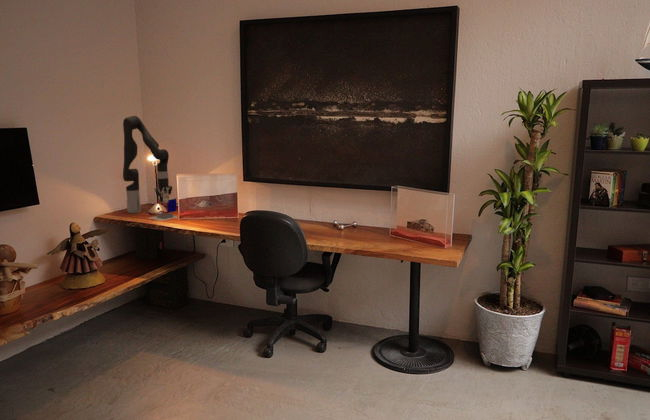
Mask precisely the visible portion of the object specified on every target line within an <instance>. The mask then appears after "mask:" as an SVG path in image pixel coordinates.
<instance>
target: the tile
mask: <svg viewBox="0 0 650 420" xmlns="http://www.w3.org/2000/svg"><path fill="white" fill-rule="evenodd" d="M156 216H157V217H158V218H163V219H166V218H171V217H173V216H174V214H173V213H165V212H162V213H159V214H156Z"/></svg>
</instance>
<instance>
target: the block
mask: <svg viewBox="0 0 650 420" xmlns="http://www.w3.org/2000/svg"><path fill="white" fill-rule="evenodd" d="M162 197H163V202H161V201H160V203H168V193H165V192H163V196H162Z"/></svg>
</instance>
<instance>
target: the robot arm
mask: <svg viewBox="0 0 650 420" xmlns="http://www.w3.org/2000/svg"><path fill="white" fill-rule="evenodd" d="M122 129H123V141H124V142H123V166H122V167H123V169H122V170H123V171H122V178H123V181H124V182H132V183H131V184H129V185H127V186H125V187H126V188H125V190H126V191H125V192H126V208H127V213H128V214H138V213H141V212H142V210H141V209H142V208H141V197H140V196H141V195H140V182H139V181H140V179H139V178H140V174H139V170H138V169H137V168H130V166H131V165H132V163H133V162H134V161H135V159H136V157H137V156H138V144H137V142H136V140H134V139H135V138H133V130H136V129H137V130H138V131H139V132H140V134H141V136H142V142H143V143H144V145H145V146H146V147H147V148H148V149H149V150H150V153H151V154H152V155H153V157H154V158H155V159H156V160H158V161H159V163H157V164H156V171H157V172H156V176H157V177H156V178H157V187H155V188H154V192H155V194H156V196H157V197H158V198H159V199H160V201H161V202H163V197H162V196H163V192H165V193H168V200H169V198H170V197H169V195H172V190H173V186H171V185H169V171H168V163H169V151H168V150H167V149H165V148H164V149H160V148H159V146H160V144H159V143H158V142H157V140H155V138H154V137H153V136H152V135H151V133H150V132H149V130H148V129H147V127H146V126H145V125H144V123H143V121H142V120H141V118H140V117H138V116H137V115H132V116H128V117H125V118H124V119H123V123H122Z"/></svg>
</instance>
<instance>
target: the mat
mask: <svg viewBox="0 0 650 420" xmlns="http://www.w3.org/2000/svg"><path fill="white" fill-rule="evenodd" d="M176 218H178V216H177V215H173V217H171V218H166V219H163V218H158V217H157V215H156V216H150V217H148V219H152V220H156V221H159V222H160V221H161V222H162V221H167V220H172V219H176Z"/></svg>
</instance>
